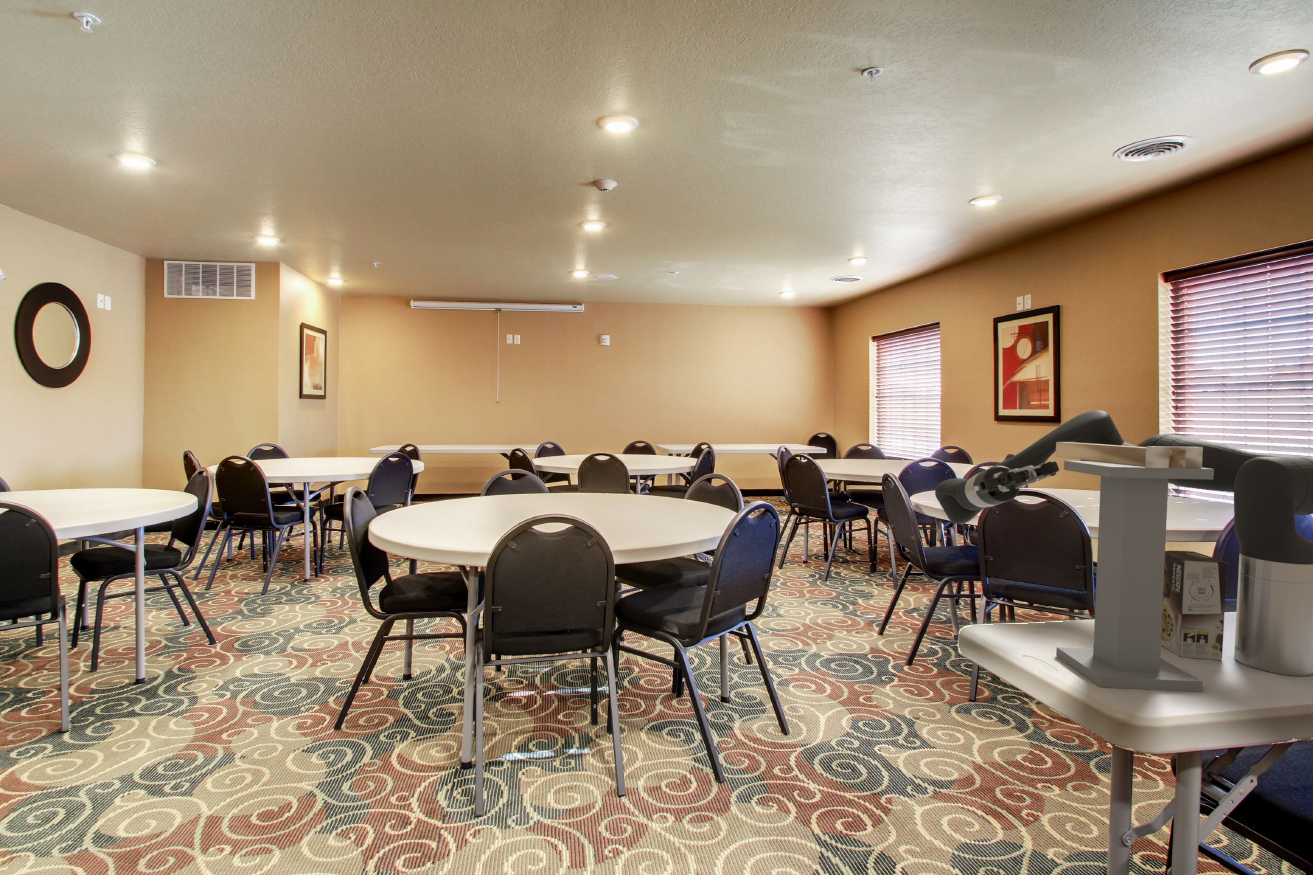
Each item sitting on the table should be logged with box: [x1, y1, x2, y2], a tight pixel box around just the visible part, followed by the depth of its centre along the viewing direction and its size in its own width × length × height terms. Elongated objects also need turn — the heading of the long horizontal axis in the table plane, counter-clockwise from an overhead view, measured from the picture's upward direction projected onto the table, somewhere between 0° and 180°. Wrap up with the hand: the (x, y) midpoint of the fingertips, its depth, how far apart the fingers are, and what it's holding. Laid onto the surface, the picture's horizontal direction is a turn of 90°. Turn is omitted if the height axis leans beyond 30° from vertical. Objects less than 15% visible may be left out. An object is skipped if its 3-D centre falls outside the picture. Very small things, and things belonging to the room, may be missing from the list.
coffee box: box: [1161, 550, 1228, 661], centre depth 111 cm, size 9×6×16 cm
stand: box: [1055, 460, 1214, 693], centre depth 100 cm, size 14×12×32 cm
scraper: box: [1055, 442, 1203, 468], centre depth 104 cm, size 8×22×3 cm, turn 7°
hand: (1034, 470), depth 123 cm, fingers open, 8 cm apart
